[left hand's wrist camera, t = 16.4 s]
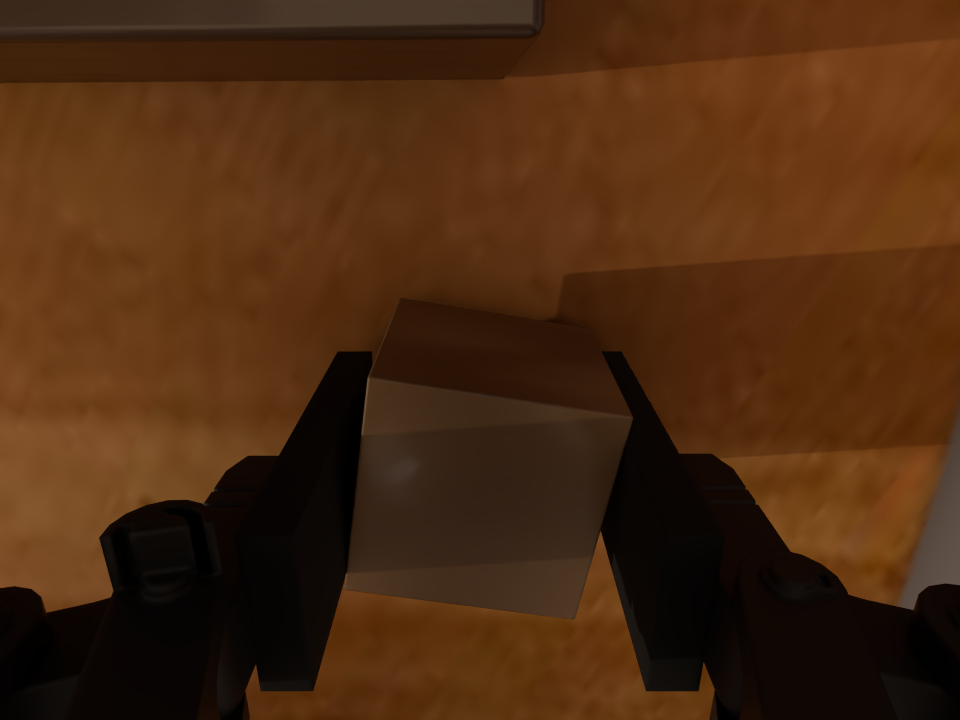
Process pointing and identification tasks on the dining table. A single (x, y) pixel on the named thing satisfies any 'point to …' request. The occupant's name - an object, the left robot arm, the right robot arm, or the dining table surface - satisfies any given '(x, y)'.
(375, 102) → the dining table surface
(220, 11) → the chest
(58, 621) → the left robot arm
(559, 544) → the block
